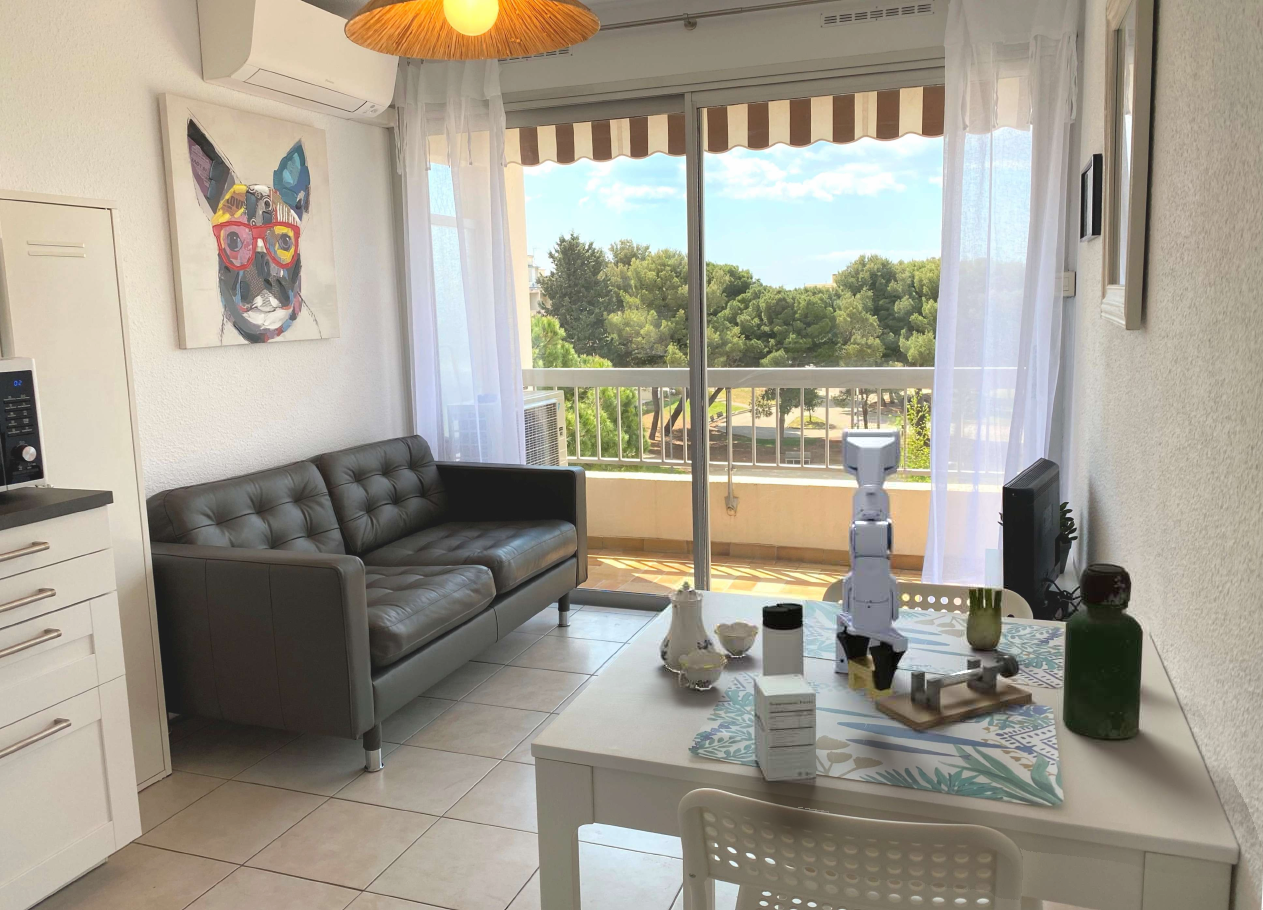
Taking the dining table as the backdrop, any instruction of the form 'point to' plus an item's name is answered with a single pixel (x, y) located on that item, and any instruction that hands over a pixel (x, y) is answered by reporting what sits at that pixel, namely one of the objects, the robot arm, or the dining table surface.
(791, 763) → the supplement box
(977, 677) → the shaft
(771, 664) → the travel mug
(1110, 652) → the green bottle
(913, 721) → the shaft bracket
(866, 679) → the spacer
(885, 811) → the dining table surface
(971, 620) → the fennel bulb
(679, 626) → the chinaware
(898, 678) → the dining table surface
